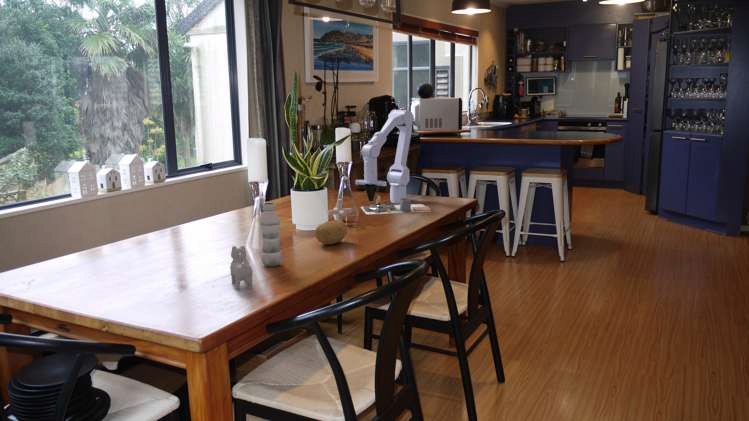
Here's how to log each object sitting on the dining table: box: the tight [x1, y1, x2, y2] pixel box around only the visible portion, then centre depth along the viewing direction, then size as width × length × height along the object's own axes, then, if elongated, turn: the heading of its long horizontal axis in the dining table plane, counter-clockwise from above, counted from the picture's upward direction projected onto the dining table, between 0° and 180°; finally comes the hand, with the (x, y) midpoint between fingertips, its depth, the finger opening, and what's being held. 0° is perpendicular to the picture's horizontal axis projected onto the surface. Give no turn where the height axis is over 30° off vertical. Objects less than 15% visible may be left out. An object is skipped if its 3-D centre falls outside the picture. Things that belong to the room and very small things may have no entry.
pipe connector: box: [327, 198, 353, 221], centre depth 253 cm, size 10×10×10 cm
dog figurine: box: [229, 245, 254, 291], centre depth 177 cm, size 5×13×11 cm, turn 23°
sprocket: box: [363, 194, 396, 214], centre depth 274 cm, size 14×14×6 cm
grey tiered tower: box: [258, 202, 283, 267], centre depth 194 cm, size 6×7×20 cm
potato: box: [314, 219, 348, 246], centre depth 221 cm, size 10×14×8 cm
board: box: [360, 203, 432, 215], centre depth 276 cm, size 17×29×2 cm, turn 100°
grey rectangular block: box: [399, 197, 412, 213], centre depth 271 cm, size 6×4×5 cm, turn 10°
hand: (371, 200), depth 280 cm, fingers closed
